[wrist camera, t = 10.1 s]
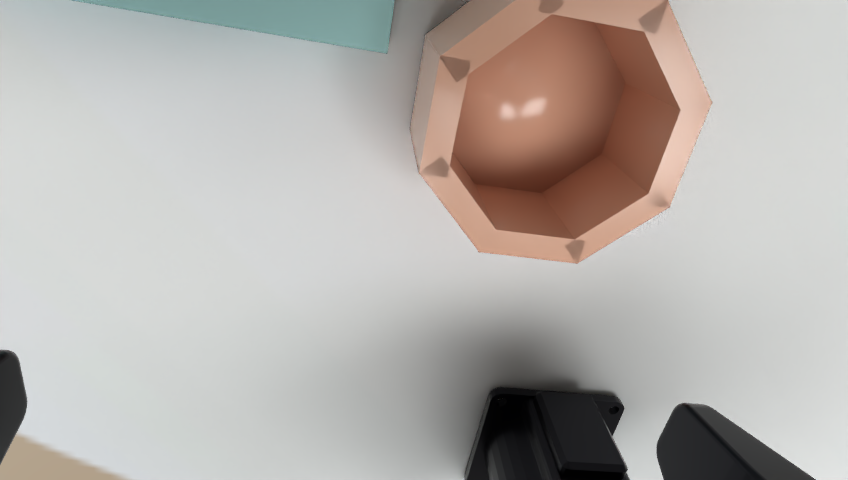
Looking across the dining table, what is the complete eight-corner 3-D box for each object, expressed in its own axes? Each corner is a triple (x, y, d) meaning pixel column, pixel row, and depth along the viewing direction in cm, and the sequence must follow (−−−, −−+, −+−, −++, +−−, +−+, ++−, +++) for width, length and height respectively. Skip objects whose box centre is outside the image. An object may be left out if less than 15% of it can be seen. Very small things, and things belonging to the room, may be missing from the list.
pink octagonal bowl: (592, 212, 21) (643, 271, 17) (399, 187, 20) (405, 244, 16) (664, 2, 18) (748, 15, 14) (437, -42, 17) (456, -44, 13)
